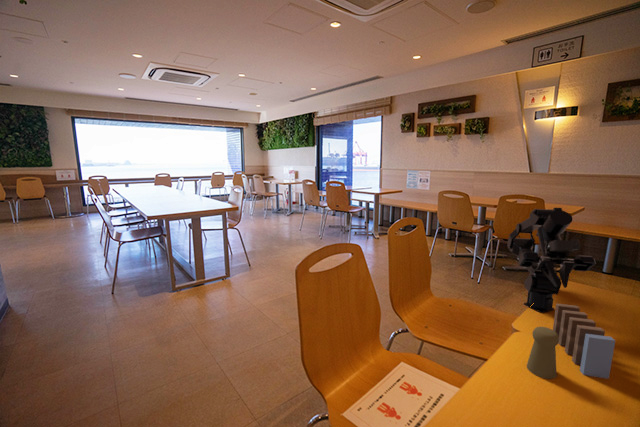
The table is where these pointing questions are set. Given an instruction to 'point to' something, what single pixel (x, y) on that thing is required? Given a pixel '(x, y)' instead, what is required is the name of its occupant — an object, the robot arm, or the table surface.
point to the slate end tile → (597, 355)
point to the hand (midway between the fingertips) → (561, 286)
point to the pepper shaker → (543, 353)
